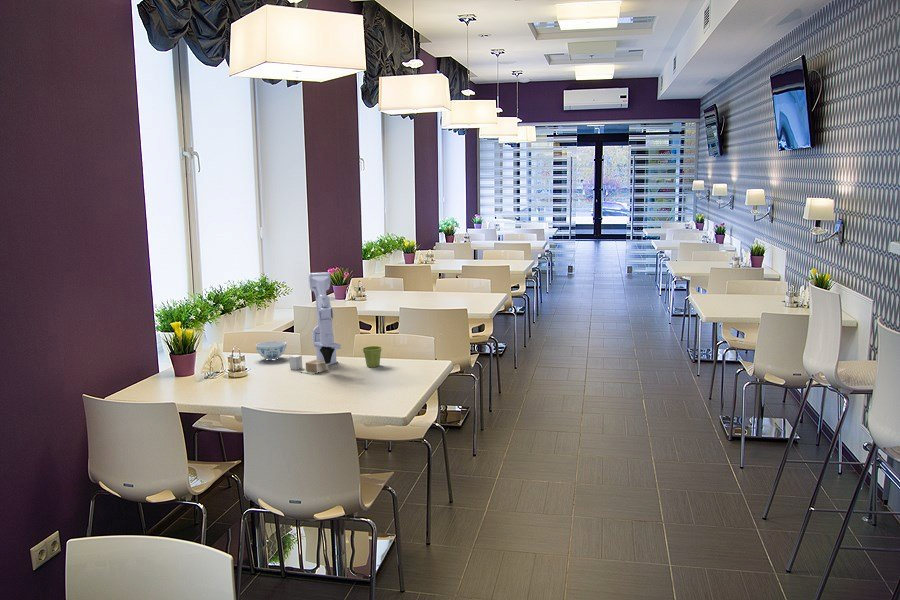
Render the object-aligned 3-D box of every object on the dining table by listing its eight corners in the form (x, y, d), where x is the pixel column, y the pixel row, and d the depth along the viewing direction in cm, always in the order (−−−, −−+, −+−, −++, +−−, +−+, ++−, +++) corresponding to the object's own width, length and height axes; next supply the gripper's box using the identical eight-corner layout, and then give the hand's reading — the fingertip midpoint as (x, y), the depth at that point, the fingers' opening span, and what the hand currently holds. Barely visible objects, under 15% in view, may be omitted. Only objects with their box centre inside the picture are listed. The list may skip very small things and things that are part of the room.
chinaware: (262, 355, 400) (261, 341, 399) (291, 355, 398) (290, 340, 397) (252, 362, 385) (251, 347, 384) (282, 362, 384) (281, 347, 382)
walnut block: (327, 369, 364) (316, 368, 368) (327, 361, 363) (315, 359, 367) (317, 372, 358) (306, 371, 362) (317, 364, 357) (305, 362, 361)
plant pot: (364, 369, 365) (363, 350, 364) (361, 364, 374) (361, 346, 373) (384, 367, 367) (383, 349, 366) (381, 363, 376) (380, 345, 375)
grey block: (296, 367, 372) (295, 354, 372) (302, 368, 370) (301, 355, 370) (290, 369, 369) (289, 356, 368) (296, 369, 367) (295, 357, 366)
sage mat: (316, 367, 370) (316, 366, 370) (329, 369, 366) (329, 368, 366) (299, 372, 361) (299, 371, 361) (313, 374, 357) (313, 373, 357)
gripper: (308, 334, 357) (310, 363, 359) (332, 336, 349) (334, 366, 351) (319, 331, 363) (320, 360, 365) (343, 333, 355) (344, 363, 357)
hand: (327, 363), depth 358 cm, fingers closed
